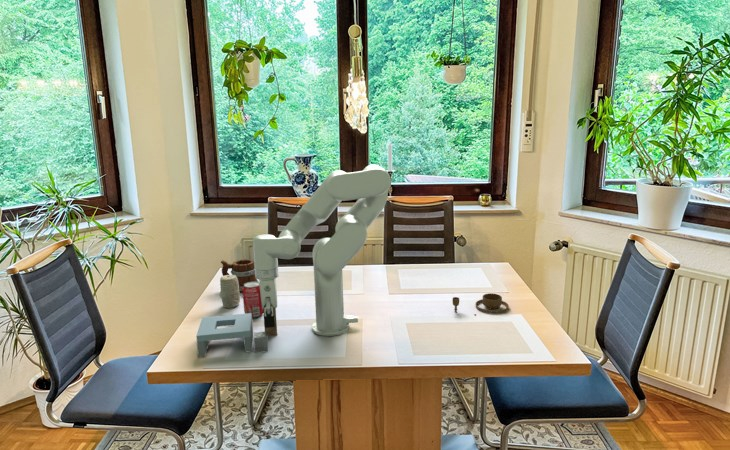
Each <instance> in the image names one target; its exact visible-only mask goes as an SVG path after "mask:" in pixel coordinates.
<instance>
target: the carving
mask: <svg viewBox="0 0 730 450" xmlns="http://www.w3.org/2000/svg"><path fill="white" fill-rule="evenodd" d="M237 279H238V278H237V277H236V275H232V274H229V275H225V276H223V275H222V276H221V277H220V279H219V281H220V282H219V285H220V288H219V289H220V299H221V303H222V306H223V308H227V309H232V308H235V307H237V306H238V305H239V304H240V303H241V293H240V292H239V283H238V280H237Z"/></svg>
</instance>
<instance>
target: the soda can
mask: <svg viewBox="0 0 730 450" xmlns="http://www.w3.org/2000/svg"><path fill="white" fill-rule="evenodd" d="M242 301H243V302H242V304H243V310H244V311H243V312H244V314H247V313H252V319H255V318H260V317H261V315H262V316H263V315H264V314H263V308H262V302H261V295H260V283H259V282H247V283H245V284H244V288H243V293H242Z"/></svg>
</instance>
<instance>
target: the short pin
mask: <svg viewBox="0 0 730 450" xmlns="http://www.w3.org/2000/svg"><path fill="white" fill-rule="evenodd" d="M253 342H254V353H265V352H266V353H267V352H269V339H268V336H267V331H265V330H264V331H256V332H254V331H253Z"/></svg>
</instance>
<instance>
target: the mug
mask: <svg viewBox="0 0 730 450" xmlns="http://www.w3.org/2000/svg"><path fill="white" fill-rule="evenodd" d="M220 263H221V265H222V268H221V273H222V276H225V275H230V273H231V275H236V277H237V278H238V279H237V280H238V283H239V292H240V294H243V288H244V284H245V283H247V282H259V280H258V279H256V278H255V265H254V259H249V258H245V259H244V258H243V259H237V260H235V261H233V263H229V262H228V261H226V260H223V259H222V260H221V261H220ZM229 270H231V271H230V273H228V271H229Z"/></svg>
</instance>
